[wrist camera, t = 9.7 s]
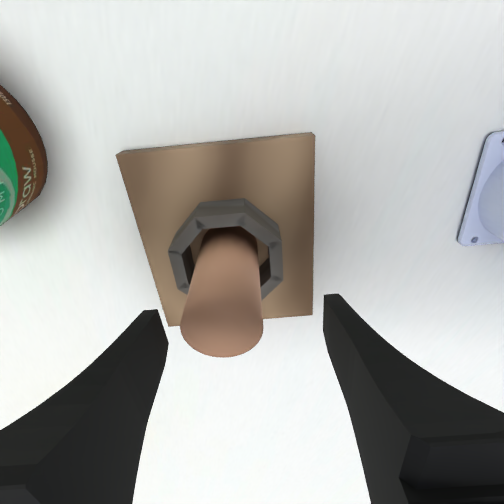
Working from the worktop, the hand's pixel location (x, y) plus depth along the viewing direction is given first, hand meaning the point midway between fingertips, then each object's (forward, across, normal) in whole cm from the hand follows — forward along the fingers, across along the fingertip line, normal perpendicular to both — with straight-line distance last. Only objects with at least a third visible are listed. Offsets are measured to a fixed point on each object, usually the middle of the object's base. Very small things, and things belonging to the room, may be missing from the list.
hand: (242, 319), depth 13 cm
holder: (+10, +1, +1) cm, 10 cm away
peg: (+9, +1, +1) cm, 9 cm away
